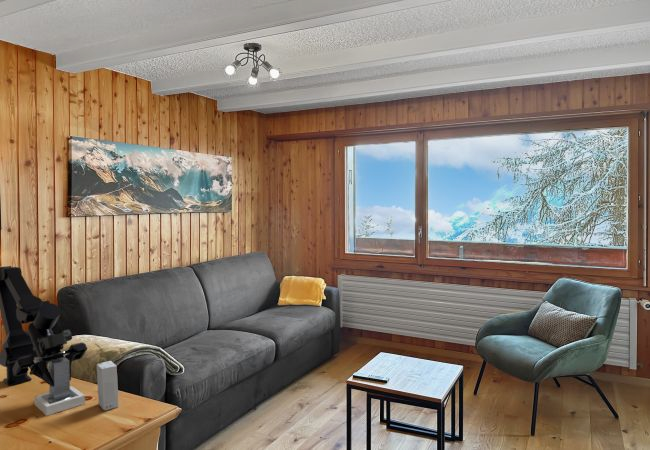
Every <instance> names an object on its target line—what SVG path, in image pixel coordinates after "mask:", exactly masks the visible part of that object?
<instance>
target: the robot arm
mask: <svg viewBox="0 0 650 450" xmlns="http://www.w3.org/2000/svg"><path fill="white" fill-rule="evenodd" d="M22 272H23V271H22V269H21V268H20V267H19V266H18V267H17V266H11V265H7V266H0V314H1V319H2V323H3V327H4V331H5V335H6V336H5V339H4V340H3V342H2V350H1V352H0V366H2V367H4V368H6V378H3V379H2V380H3V382H4V383H5V384H6V385H8V386H13V385H17V384H20V383H25V382H29V381H32V377H31V376H35V377H38V378H39V379H41V381H43V382H45V383H46V384H47V385H48V386H49V387H50V386H52V387H53V386H54V381H53V379H52V377H51V375H50V372H49V367H48V365H47V363H49V360H53V359H57V358H62V357H65V358H67V359H68V360H69V374H70V381H71V380H72V363H73V362H74V361H78V360H80V359H82V358H83V357H84V355H85V354H86V351H87V350H88V346H87V345H86V343H85V342H79V343H74V344H71V345H70V346H69V348H67V350H64V351H62V350H63V349H64V348H65V346H64V345H67V344H68V342H70V341H71V340H72V339H73V335H72V331H70V329H65V330H62V331H61V332H60V333H58V334H56V333H55V334H54V332H53V330H52V328H53V327H54V326H55V325H56V323H57V321H58V319H59V318H60V316H61V313H62V310H61V307H59V306H58V305H57V304H54V303H51V302H50V300H44V301H43V300H42V299H41V297H37V296H36V295H34V294H33V292H32V290H31V288H30V287H29V285H28V284H27V282H26V280H25V277H24V276H23V275H22V274H23V273H22ZM24 324H29V325H28V327H27V329H26V331H25V330H24V328H23V325H24ZM35 355H37V356H35ZM29 370H30V371H29ZM28 373H29V374H28Z"/></svg>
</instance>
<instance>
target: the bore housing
mask: <svg viewBox="0 0 650 450" xmlns="http://www.w3.org/2000/svg"><path fill="white" fill-rule="evenodd" d="M70 394H71V395H72V398H69V399H65V400H62V401H59V402H55V403H52V404H49V403H48V398H49V397H50V391H48V392H45V393H41V394H39V395H34V406H36V407H37V408H38V409H39V410H40V411H41V412H42V413H43V414H44V415H45V416H47V417H48V416H50V415H53V414H54V415H55V414H57V413H60V412H64V411H66V410H69V409H73V408H76V407H79V406H82V405H85V404H86V395H85V394H84V393H82V392H81V391H79V390H78V389H76V388H75V387H74V386H72V385H71V386H70Z"/></svg>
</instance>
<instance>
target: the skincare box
mask: <svg viewBox="0 0 650 450" xmlns="http://www.w3.org/2000/svg"><path fill="white" fill-rule="evenodd" d="M117 368H118V367H117V365H116V363H114V362H113V361H112V360H108V361H103V362H99V363H96V377H97V378H96V379H97V396H98V405H99V407H101V409H102V410H103V411H108V410H113V409H116V408H119V407H120V406H119V390H118V389H119V388H118V387H119V385H118V372H117V371H118V369H117Z"/></svg>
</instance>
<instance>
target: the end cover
mask: <svg viewBox="0 0 650 450" xmlns="http://www.w3.org/2000/svg"><path fill="white" fill-rule="evenodd" d="M48 370H49V372H50V375H51V377H52V379H53V381H54V386H53V387H52V386H50V385H49V392H50V397H49V398H48V403H49V404H52V403H55V402H59V401H62V400H65V399H69V398H72V395H71V394H70V385H71V384H70V382H71V380H70V374H69V360H68V359H67V358H65V357H62V358H57V359H53V360H49V362H48Z"/></svg>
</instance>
